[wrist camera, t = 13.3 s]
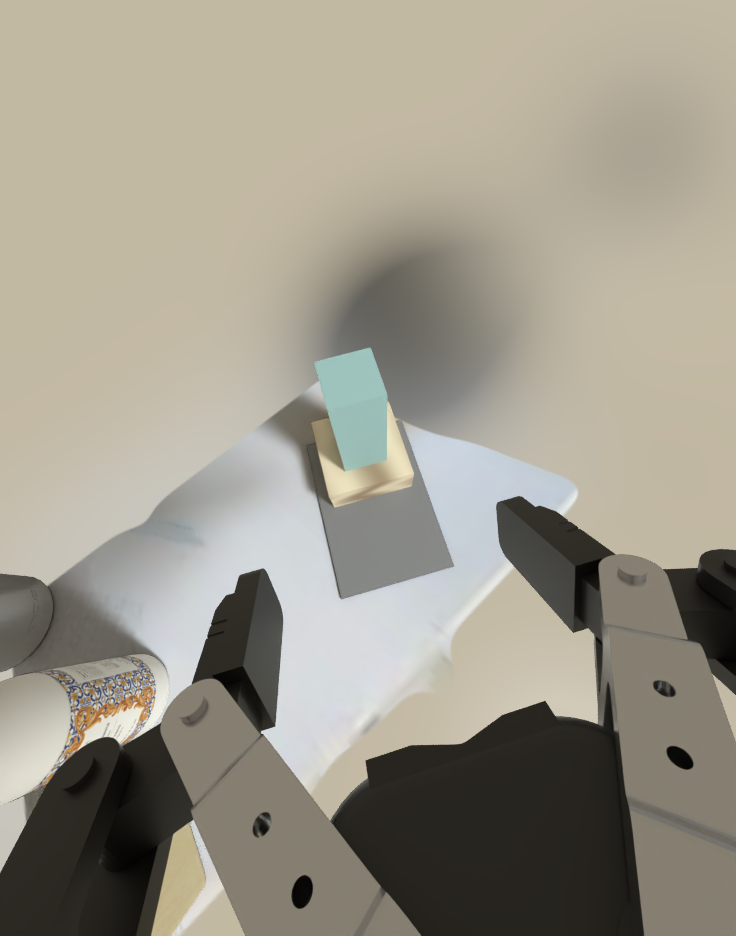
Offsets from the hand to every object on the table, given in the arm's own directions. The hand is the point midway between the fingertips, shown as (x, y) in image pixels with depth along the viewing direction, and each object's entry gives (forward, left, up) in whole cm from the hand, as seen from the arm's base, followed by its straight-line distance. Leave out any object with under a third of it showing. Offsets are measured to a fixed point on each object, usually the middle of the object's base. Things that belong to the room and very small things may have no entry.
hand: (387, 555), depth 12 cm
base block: (+1, +15, -25) cm, 29 cm away
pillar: (+1, +14, -21) cm, 26 cm away
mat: (+1, +10, -26) cm, 27 cm away
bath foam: (-26, -2, -26) cm, 36 cm away
